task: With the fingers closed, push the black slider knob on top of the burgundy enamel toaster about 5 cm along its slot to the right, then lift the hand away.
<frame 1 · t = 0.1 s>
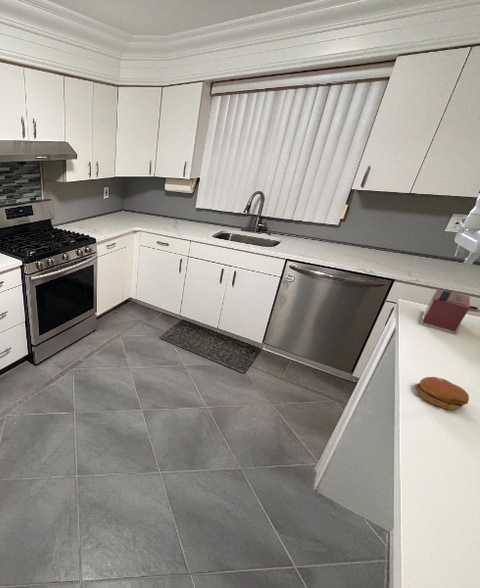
hand: (462, 260, 115), 26 cm above the countertop, tool pointing down, fingers open, 8 cm apart
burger: (436, 398, 85), on the countertop
toaster: (438, 322, 124), on the countertop
browning slider: (445, 294, 117), point 13 cm above the countertop, slide at 0.0 cm
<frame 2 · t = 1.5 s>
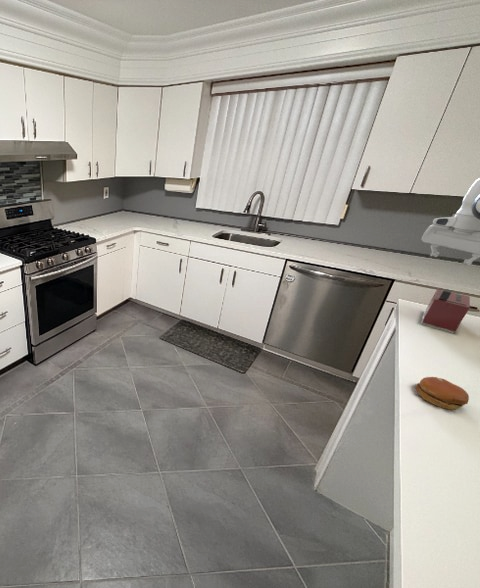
hand: (449, 260, 115), 25 cm above the countertop, tool pointing down, fingers open, 8 cm apart
nothing on the countertop moved.
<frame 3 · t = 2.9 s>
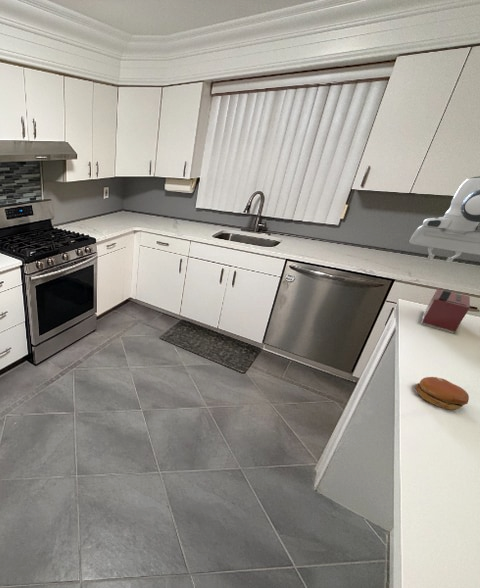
hand: (438, 260, 116), 25 cm above the countertop, tool pointing down, fingers open, 3 cm apart
nothing on the countertop moved.
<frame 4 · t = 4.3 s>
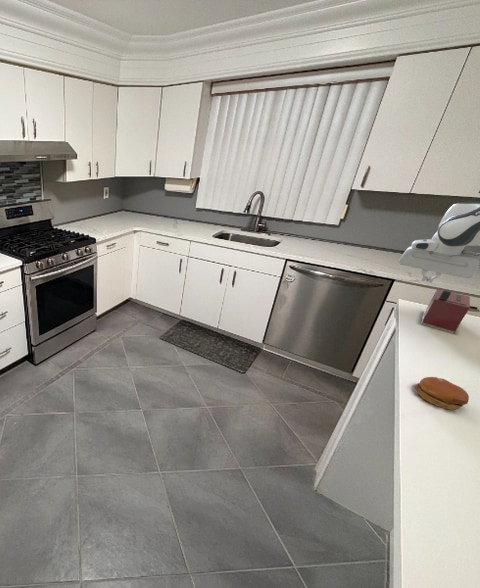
hand: (426, 281, 119), 17 cm above the countertop, tool pointing down, fingers closed
nothing on the countertop moved.
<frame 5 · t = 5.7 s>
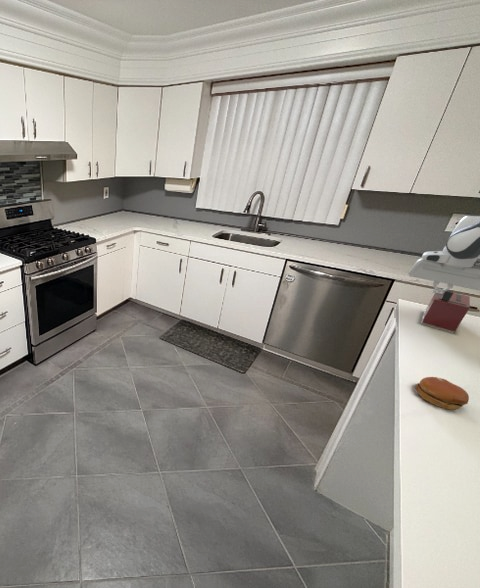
hand: (438, 293, 118), 13 cm above the countertop, tool pointing down, fingers closed
browning slider: (447, 295, 116), point 13 cm above the countertop, slide at 0.6 cm, touching gripper
everything else where it was.
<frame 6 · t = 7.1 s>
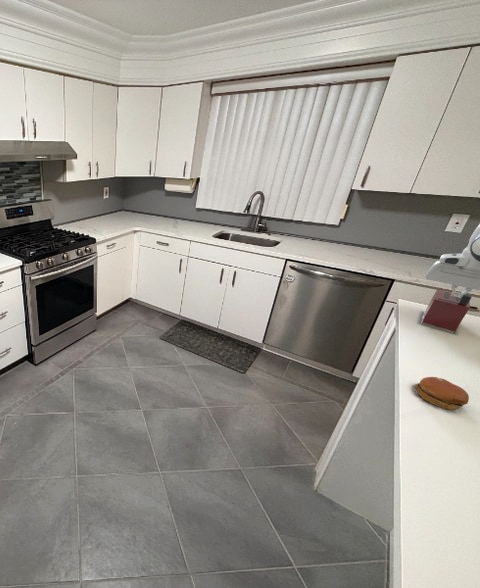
hand: (455, 297, 115), 13 cm above the countertop, tool pointing down, fingers closed
browning slider: (465, 299, 113), point 13 cm above the countertop, slide at 5.1 cm, touching gripper
everything else where it was.
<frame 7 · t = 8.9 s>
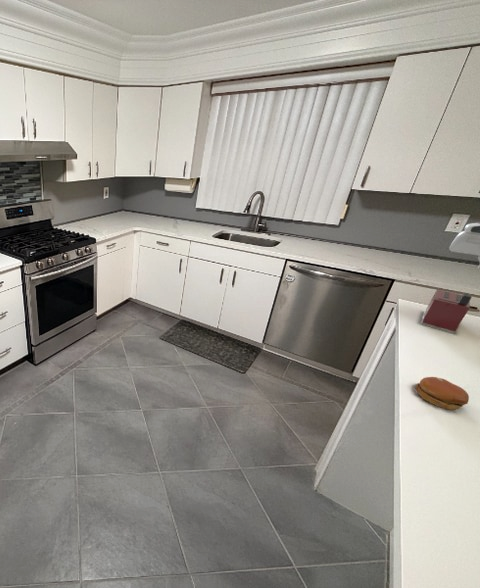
browning slider: (465, 299, 113), point 13 cm above the countertop, slide at 5.1 cm
everything else where it was.
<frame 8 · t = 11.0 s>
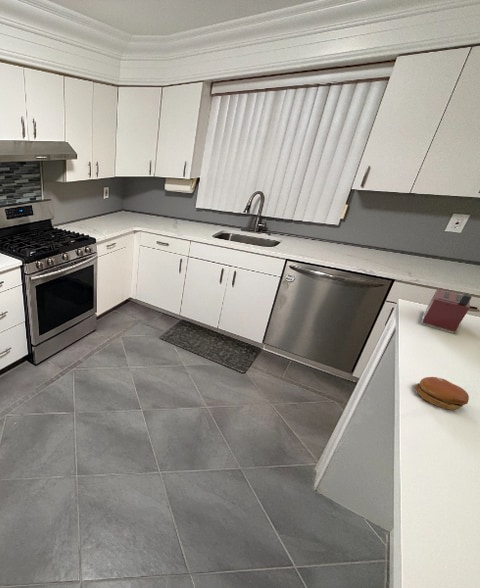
nothing on the countertop moved.
at the end: browning slider slide at 5.1 cm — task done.
